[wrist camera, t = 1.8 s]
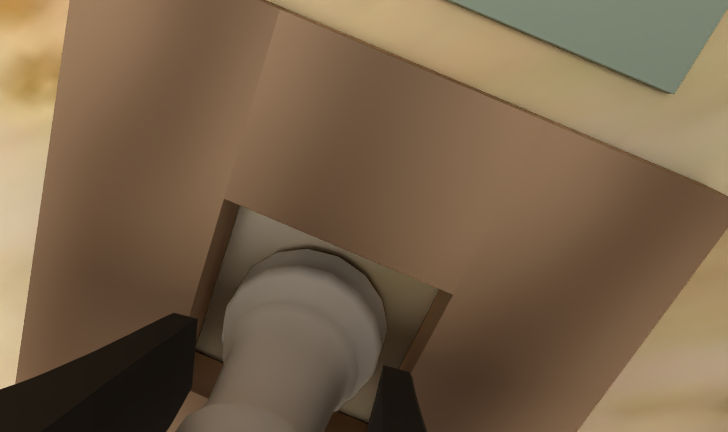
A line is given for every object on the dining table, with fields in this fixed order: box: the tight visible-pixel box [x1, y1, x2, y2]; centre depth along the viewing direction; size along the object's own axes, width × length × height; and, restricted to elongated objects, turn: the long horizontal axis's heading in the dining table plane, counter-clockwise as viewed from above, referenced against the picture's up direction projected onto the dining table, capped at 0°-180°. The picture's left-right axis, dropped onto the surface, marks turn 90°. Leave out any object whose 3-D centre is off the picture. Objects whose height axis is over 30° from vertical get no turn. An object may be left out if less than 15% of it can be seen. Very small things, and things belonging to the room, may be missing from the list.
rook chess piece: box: [175, 249, 387, 432], centre depth 10 cm, size 4×4×8 cm
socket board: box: [15, 0, 728, 432], centre depth 13 cm, size 15×15×2 cm
